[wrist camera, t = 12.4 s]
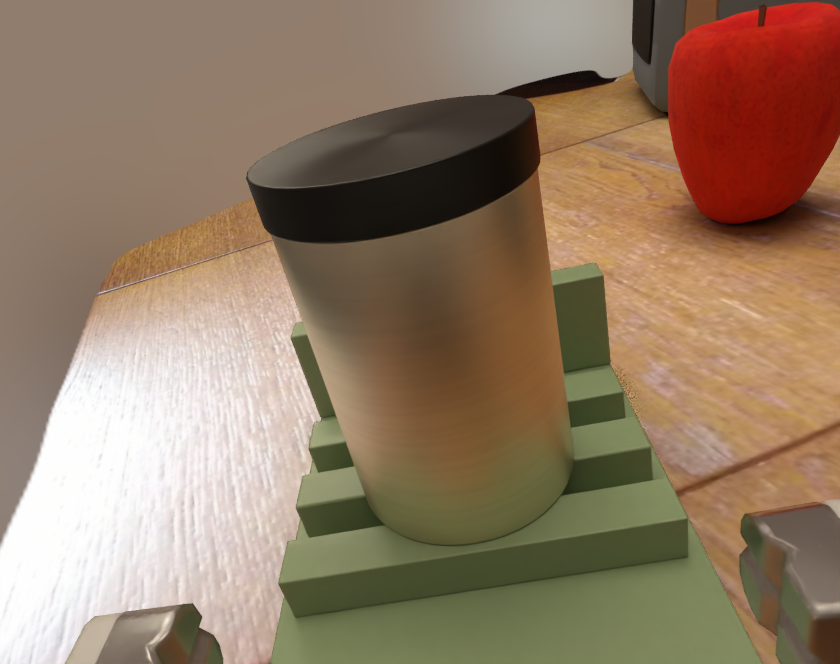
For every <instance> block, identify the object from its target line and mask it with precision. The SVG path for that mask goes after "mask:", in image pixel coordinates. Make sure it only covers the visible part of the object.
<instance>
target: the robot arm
mask: <svg viewBox="0 0 840 664" xmlns="http://www.w3.org/2000/svg"><path fill="white" fill-rule="evenodd" d="M740 533H741V535H742V537H743V538H744V540H745V542H746V544H747V545H748V546H747V547H746V549H745V550H744V551H743V552H742V553H741V554H740V575H741V580H742V584H743V588H744V592H745V594H746V597H747V599H748V602H749V604H750V607H751V609H752V611H753V613H754V615H755V617H756V619H757V620H758V622H759V624H760V625H762V626H763V627H765V628H766V629H767V630H769V631H770V632H772V633H773V634H775V635H776V636H777V645H776V656H777V658H778V660H779V662H780V664H840V499H834V500H828V501H822V502H811V503H805V504H800V505H794V506H788V507H782V508H776V509H771V510H765V511H759V512H753V513H747V514H745V515H744V516H743V518H742V520H741V532H740ZM201 619H202V616H201V614H200V613H199V612H198V610H197V609H196V607H195V606H194V604H193V603H192V604H182V605H174V606H166V607H158V608H151V609H143V610H135V611H127V612H121V613H114V614H107V615H101V616H95V617H94V618H92V619H91V620H90V621H89V622H88V623H87V624H86V625H85V626H84V628H83V629H82V631H81V633H80V635H79V637H78V639H77V641H76V643H75V645H74V647H73V649H72V651H71V653H70V655H69V657H68V658H67V660H66V662H65V664H223V657H222V653H221V649H220V645H219V643H218V642H217V640H216V638H215V637H214V635H212V634H210V633H209V632H207V631H205V630H203V629H201V628H199V625H200V622H201Z"/></svg>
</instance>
